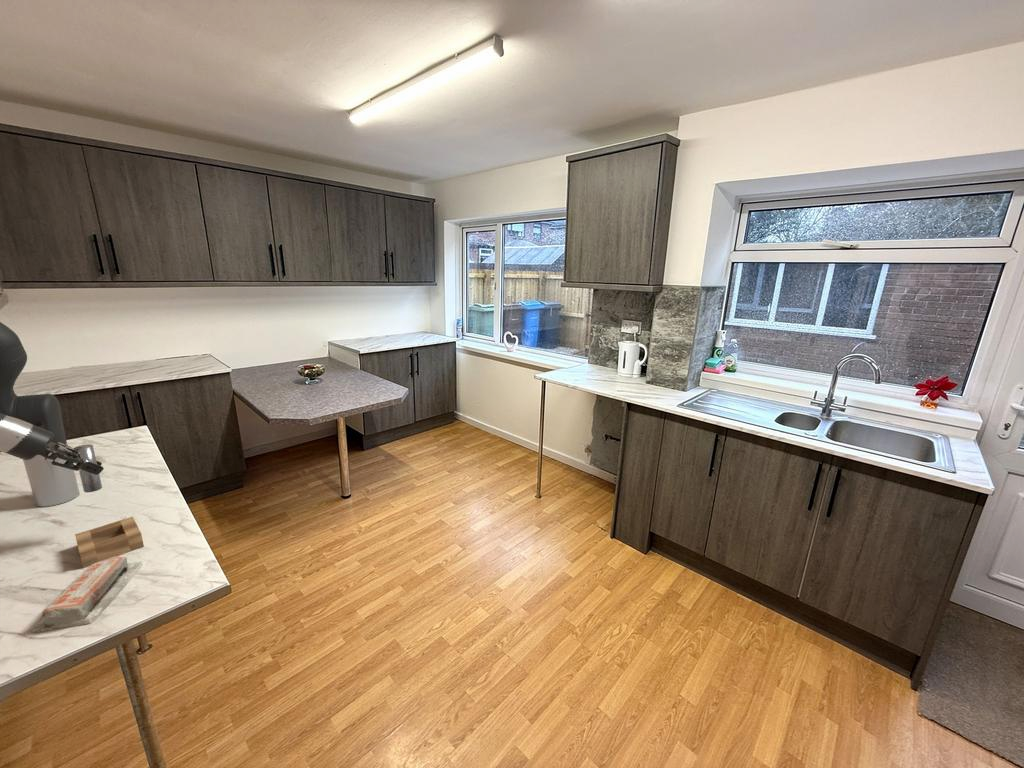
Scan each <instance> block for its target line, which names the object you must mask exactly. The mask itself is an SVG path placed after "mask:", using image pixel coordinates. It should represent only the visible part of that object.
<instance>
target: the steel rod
mask: <svg viewBox="0 0 1024 768" xmlns="http://www.w3.org/2000/svg"><path fill="white" fill-rule="evenodd" d="M73 448H74V452H75V453H77V454H78V455H79V457H80V458H83V459H86V460H87V461H89V462H92V463H95V464H97V462H96V460H97V457H96V453H95V449H94V444H89V443H88V444H82V445H78V446H75V447H73ZM77 463H78V462H77ZM78 472H79V475H80V476H79V477H80V480H81V485H82V489H83V492H84V493H94V492H97V491H100V490H101V489H102V488H103V486H102V485H103V484H102V481H101V475H100V474H98V475H95V474H92V473H90V472H87V471H84V470H78Z"/></svg>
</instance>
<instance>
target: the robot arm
mask: <svg viewBox="0 0 1024 768" xmlns="http://www.w3.org/2000/svg"><path fill="white" fill-rule="evenodd" d="M2 282H3V274H2V270H1V269H0V287H1V285H2ZM27 362H28V354H27V351H26V350H25V348H24V346H23V343H22V341H21V340H20V337H19V336H18V334H17V333H16V332H15V331H13V330H12V329H11V328H10V327H9V326H7V325H6V324H4V323H2V322H1V321H0V452H1V453H3V454H7V455H10V456H13V457H15V458H18V459H21V460H22V461H23V463H24V468H25V471H26V475H27V479H28V482H29V485H30V490H31V492H32V497H33V499H34V503H35V505H36V506H37V507H51V506H57V505H61V504H64V503H66V502H69V501H72V500H74V499H76V498H77V497H79V496H80V489H79V486H78V485H79V484H78V481H77V478H76V473H75V472H76V471H77V472H79V470H84V471H87V472H90V473H92V474H95V475H98V474H99V475H100V474H101V473H102V472H103V471H104V467H103V466H102V465H103V464H102V462H101V461H99V460H97V459H96V462H97V464H95V463H92V462H89V461H87V460H86V459H83V458H80V457H79V455H78V454H77V453H75V452H74V448H75V447H72V446H69V445H68V443H67V442H68V441H67V438H66V437H67V436H66V432H65V431H66V430H65V426H64V421H63V415H62V410H61V404H60V402H59V400H58V398H57V397H56V396H55V394H51V393H43V394H42V393H40V394H31V395H29V394H28V395H17V394H16V393H15V391H14V385H15V383H16V381H17V379H18V377H19V376H20V374H21V373H22V371H23V370H24V368H25V366H26V364H27ZM42 427H43V428H42ZM77 462H78V463H77Z"/></svg>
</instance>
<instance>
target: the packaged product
mask: <svg viewBox="0 0 1024 768" xmlns="http://www.w3.org/2000/svg"><path fill="white" fill-rule="evenodd" d="M142 566H143V561H135V562H128V558H127V557H126V556H121V555H119V556H115V557H111V558H108V559H105V560H102V561H98V562H96V563H93V564H92V565H91V566H88V567H86V569H85V570H84V571H83V572H82V573H81V574H80V575H79V576H78V577H77V578H76V579H75V580H74V581H72V583H70V584H69V586H68V587H66V589H64V590H63V591H62V592H61V593H60V594H59V595H58V596H57V597H56V598H55V599H54V600H53V601H52V602H50V604H49V605H48V606H46V607H45V608H44V609H43V610H42V612H41V614H42V617H43V618H41V619H40V621H38V622H37V623H36V624H35V625H34V626H33V627H32V628H31V629H30V632H32V633H34V632H33V631H40V632H43V631H42V630H46V631H51V630H50V629H53V630H58V629H64V628H70V627H76V626H83V625H89V624H93V623H94V622H95V621H96V620H97V619H98V618H99V617H100V616H101V614H102V613H103V611H105V610H106V609H107V607H109V606H110V605H111V603H112V602H113V601H114V600H115V598H117V596H118V595H119V594H120V593H121V592H122V590H123V589H124V588H126V586H127V585H128V584H129V582H131V580H132V579H133V578H134V576H136V574H137V573H138V571H139V570H140V569H141V568H142Z"/></svg>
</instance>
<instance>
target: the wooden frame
mask: <svg viewBox="0 0 1024 768" xmlns="http://www.w3.org/2000/svg"><path fill="white" fill-rule="evenodd" d="M74 537H75V541H76V544H77V548H78V549H77V550H78V553H79V557H80V560H81V564H82V568H83V569H85V568H89V567H90V566H91V565H92V564H93V563H96V562H98V561H102V560H105V559H108V558H111V557H115V556H121V555H124V554H127V553H130V552H132V551H136V550H139V549H141V548H144V547H145V545H144V540H143V536H142V532H141V530H140V528H139V525H138V524H137V522H136V521H135V519H134V516H131V517H127V518H124V519H121V520H117V521H114V522H111V523H107V524H105V525H104V524H103V525H100V526H97V527H94V528H91V529H88V530H85V531H82V532H79V533H76V534H74Z"/></svg>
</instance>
